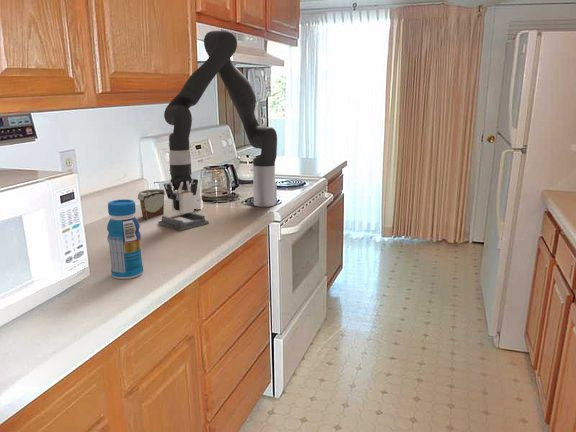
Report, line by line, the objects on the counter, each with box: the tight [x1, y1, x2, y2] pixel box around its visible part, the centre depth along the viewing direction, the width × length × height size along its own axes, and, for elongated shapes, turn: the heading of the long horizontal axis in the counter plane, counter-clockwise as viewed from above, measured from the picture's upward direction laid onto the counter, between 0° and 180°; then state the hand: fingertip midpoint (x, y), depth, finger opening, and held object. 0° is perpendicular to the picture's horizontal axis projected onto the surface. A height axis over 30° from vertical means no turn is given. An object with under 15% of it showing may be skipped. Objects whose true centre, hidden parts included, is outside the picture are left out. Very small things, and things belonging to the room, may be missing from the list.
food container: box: [137, 188, 166, 221], centre depth 189 cm, size 12×6×10 cm, turn 152°
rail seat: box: [157, 212, 210, 232], centre depth 179 cm, size 13×13×3 cm
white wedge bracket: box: [193, 185, 204, 210], centre depth 202 cm, size 4×10×9 cm, turn 84°
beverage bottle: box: [106, 198, 144, 280], centre depth 128 cm, size 8×8×20 cm
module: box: [171, 190, 195, 214], centre depth 178 cm, size 4×7×7 cm, turn 49°
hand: (182, 208), depth 178 cm, fingers closed on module, 4 cm apart
